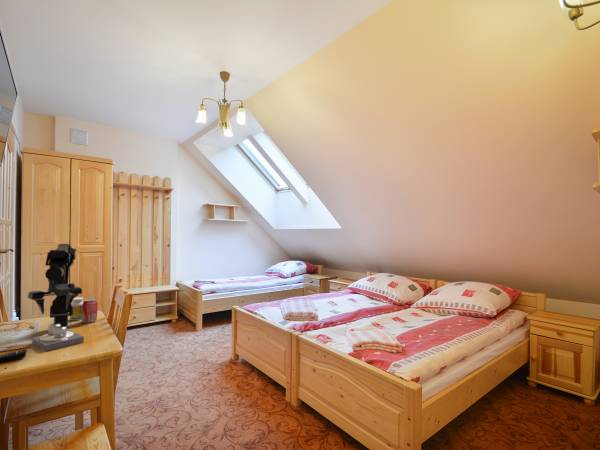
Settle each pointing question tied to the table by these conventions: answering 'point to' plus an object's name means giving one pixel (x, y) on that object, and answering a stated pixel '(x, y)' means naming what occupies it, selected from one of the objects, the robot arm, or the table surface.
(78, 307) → the pill bottle
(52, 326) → the cylinder
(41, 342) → the scale
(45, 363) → the table surface
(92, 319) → the soda can
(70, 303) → the robot arm
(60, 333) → the cylinder
